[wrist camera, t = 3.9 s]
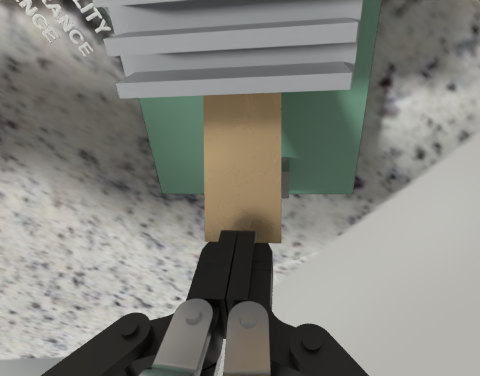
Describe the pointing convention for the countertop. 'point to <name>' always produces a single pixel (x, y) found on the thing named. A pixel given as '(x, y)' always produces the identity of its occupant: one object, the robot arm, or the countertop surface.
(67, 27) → the wide band ring
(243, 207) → the strap
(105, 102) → the countertop surface
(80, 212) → the countertop surface
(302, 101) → the board
